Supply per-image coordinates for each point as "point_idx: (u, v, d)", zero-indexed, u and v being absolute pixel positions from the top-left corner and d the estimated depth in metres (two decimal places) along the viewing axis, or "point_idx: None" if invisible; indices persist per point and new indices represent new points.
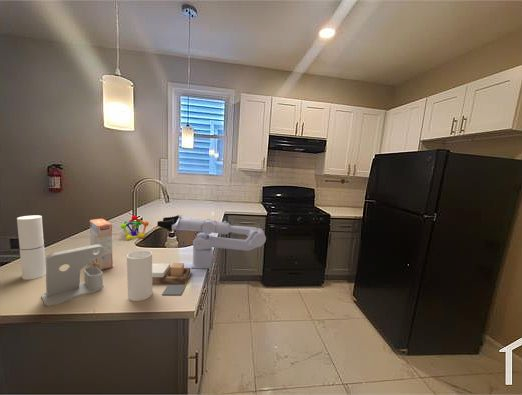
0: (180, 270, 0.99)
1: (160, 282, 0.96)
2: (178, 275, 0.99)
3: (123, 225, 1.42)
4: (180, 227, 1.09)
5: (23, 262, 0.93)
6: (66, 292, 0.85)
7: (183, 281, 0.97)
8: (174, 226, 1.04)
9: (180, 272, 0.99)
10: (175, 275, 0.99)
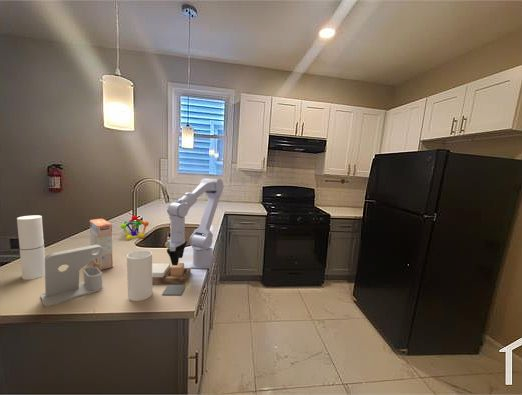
0: (180, 270, 0.99)
1: (160, 282, 0.96)
2: (178, 275, 0.99)
3: (123, 225, 1.42)
4: (178, 240, 0.96)
5: (23, 262, 0.93)
6: (65, 292, 0.85)
7: (183, 281, 0.97)
8: (171, 248, 0.92)
9: (180, 272, 0.99)
10: (175, 275, 0.99)
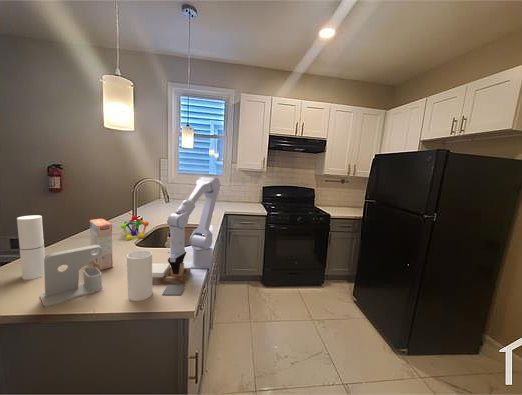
0: (180, 270, 0.99)
1: (160, 282, 0.96)
2: (178, 275, 0.99)
3: (123, 225, 1.42)
4: (178, 251, 0.97)
5: (23, 262, 0.93)
6: (65, 292, 0.85)
7: (183, 281, 0.97)
8: (171, 259, 0.93)
9: (180, 272, 0.99)
10: (175, 275, 0.99)
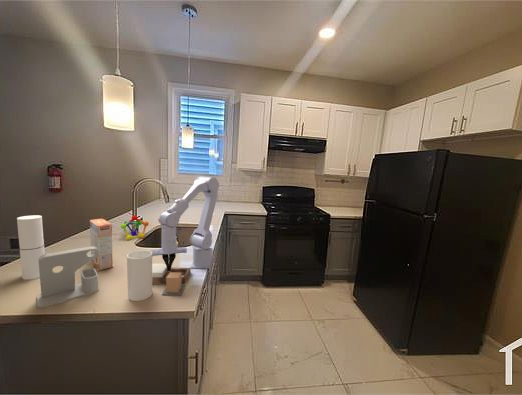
0: (177, 281, 0.89)
1: (160, 282, 0.96)
2: (175, 286, 0.89)
3: (123, 225, 1.42)
4: (162, 249, 0.97)
5: (23, 262, 0.93)
6: (61, 294, 0.84)
7: (183, 281, 0.97)
8: None
9: (177, 283, 0.89)
10: (172, 286, 0.89)
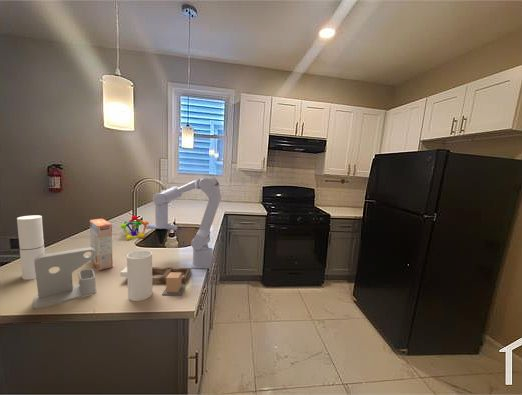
0: (177, 281, 0.89)
1: (160, 282, 0.96)
2: (175, 286, 0.89)
3: (123, 225, 1.42)
4: (155, 224, 1.14)
5: (23, 262, 0.93)
6: (58, 294, 0.83)
7: (183, 281, 0.97)
8: None
9: (177, 283, 0.89)
10: (172, 286, 0.89)
